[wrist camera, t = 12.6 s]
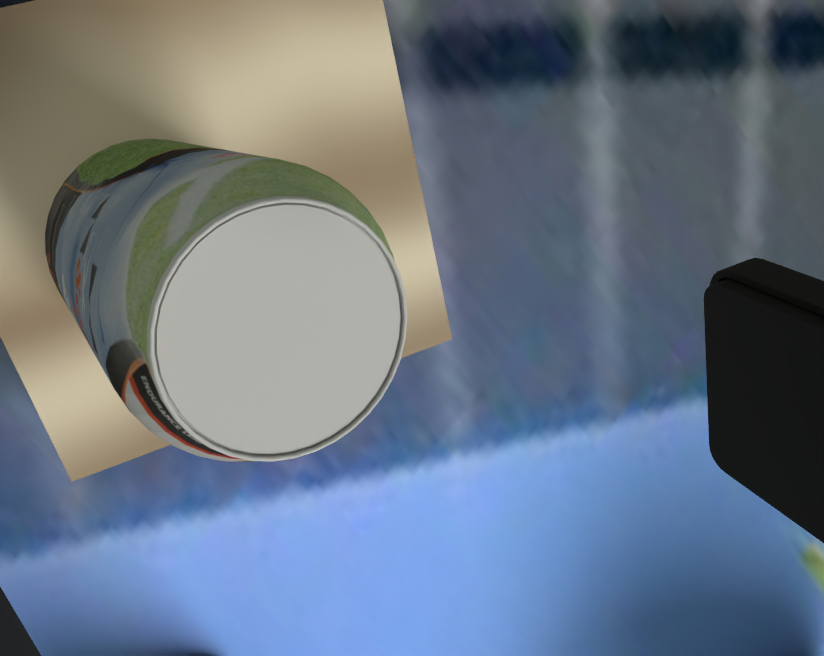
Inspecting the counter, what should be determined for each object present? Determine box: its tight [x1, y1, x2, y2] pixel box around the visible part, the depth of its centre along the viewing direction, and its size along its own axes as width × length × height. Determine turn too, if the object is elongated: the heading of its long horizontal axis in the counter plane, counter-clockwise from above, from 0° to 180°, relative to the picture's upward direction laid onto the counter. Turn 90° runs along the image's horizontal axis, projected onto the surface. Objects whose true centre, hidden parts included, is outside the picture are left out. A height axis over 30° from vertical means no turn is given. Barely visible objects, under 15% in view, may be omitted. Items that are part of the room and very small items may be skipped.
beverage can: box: [45, 139, 407, 462], centre depth 19 cm, size 6×7×12 cm
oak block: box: [0, 0, 452, 482], centre depth 26 cm, size 14×14×5 cm
